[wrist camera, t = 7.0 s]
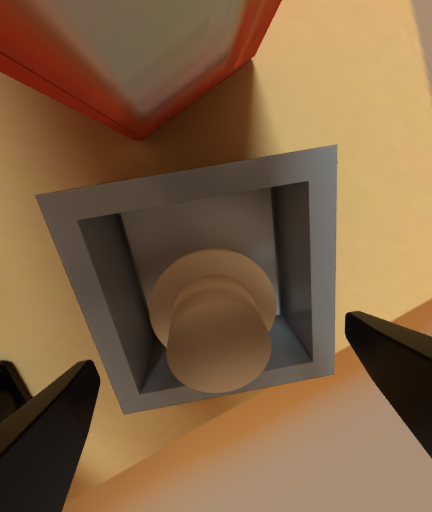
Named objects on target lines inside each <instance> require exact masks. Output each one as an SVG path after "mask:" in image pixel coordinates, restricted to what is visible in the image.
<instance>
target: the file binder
mask: <svg viewBox="0 0 432 512" xmlns="http://www.w3.org/2000/svg"><path fill="white" fill-rule="evenodd" d="M281 1H282V0H0V72H2V73H4V74H6V75H8V76H10V77H12V78H14V79H16V80H18V81H20V82H21V83H23V84H25V85H27V86H29V87H31V88H33V89H35V90H37V91H39V92H41V93H43V94H45V95H47V96H49V97H51V98H53V99H55V100H57V101H59V102H61V103H63V104H65V105H67V106H69V107H71V108H73V109H75V110H77V111H79V112H81V113H83V114H85V115H86V116H88V117H90V118H92V119H94V120H96V121H98V122H100V123H102V124H104V125H106V126H108V127H110V128H112V129H114V130H116V131H118V132H120V133H122V134H124V135H126V136H128V137H130V138H132V139H134V140H136V141H139V140H143V139H144V138H145V137H147V136H148V135H149V134H151V133H152V132H153V131H155V130H156V129H158V128H159V127H160V126H162V125H163V124H164V123H166V122H167V121H168V120H170V119H171V118H172V117H174V116H175V115H177V114H178V113H179V112H181V111H182V110H183V109H185V108H186V107H187V106H189V105H190V104H191V103H193V102H194V101H195V100H197V99H198V98H200V97H201V96H202V95H204V94H205V93H206V92H208V91H209V90H210V89H212V88H213V87H214V86H216V85H217V84H219V83H220V82H221V81H223V80H224V79H225V78H227V77H228V76H229V75H231V74H232V73H233V72H235V71H236V70H238V69H239V68H240V67H242V66H243V65H244V64H246V63H247V61H248V60H249V59H251V58H252V57H254V56H255V54H256V52H257V50H258V48H259V46H260V44H261V42H262V40H263V38H264V36H265V34H266V32H267V29H268V27H269V25H270V23H271V21H272V19H273V17H274V15H275V13H276V11H277V9H278V7H279V5H280V3H281Z"/></svg>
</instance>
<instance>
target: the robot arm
mask: <svg viewBox="0 0 432 512" xmlns="http://www.w3.org/2000/svg"><path fill="white" fill-rule="evenodd" d="M345 335H346V338H347V340H348V341H349V343H350V345H351V346H352V348H353V350H354V351H355V353H356V354H357V356H358V357H359V359H360V361H361V363H362V364H363V366H364V367H365V369H366V371H367V372H368V374H369V375H370V377H371V378H372V380H373V381H374V383H375V384H376V385H377V387H378V388H379V389H380V391H381V392H382V393H383V395H384V396H385V397H386V399H387V400H388V401H389V402H390V404H391V405H392V407H393V408H394V409H395V411H396V412H397V413H398V415H399V416H400V417H401V419H402V420H403V421H404V423H405V424H406V425H407V426H408V428H409V429H410V430H411V432H412V433H413V434H414V436H415V437H416V438H417V440H418V441H419V442H420V444H421V445H422V446H423V448H424V449H425V450H426V452H427V453H428V454H429V455H430V457H431V458H432V337H430V336H428V335H425V334H423V333H420V332H417V331H414V330H411V329H408V328H406V327H403V326H400V325H397V324H394V323H392V322H389V321H386V320H383V319H380V318H377V317H375V316H372V315H369V314H366V313H363V312H361V311H354V312H348V313H347V314H346V316H345ZM99 387H100V377H99V374H98V372H97V369H96V367H95V365H94V362H93V361H92V360H85V361H80V362H78V363H76V364H75V365H74V366H72V367H71V368H70V369H69V370H67V371H66V372H65V373H64V374H62V375H61V376H60V377H59V378H57V379H56V380H55V381H54V382H52V383H51V384H50V385H48V386H47V387H46V388H45V389H43V390H42V391H41V392H40V393H38V394H37V395H36V396H35V397H33V398H32V399H30V397H29V395H28V394H27V392H26V390H25V388H24V387H23V385H22V383H21V381H20V380H19V378H18V376H17V374H16V373H15V371H14V369H13V367H12V366H11V364H10V363H9V362H7V361H4V360H1V361H0V512H62V509H63V506H64V503H65V500H66V497H67V494H68V491H69V489H70V486H71V483H72V480H73V477H74V474H75V471H76V468H77V465H78V462H79V459H80V456H81V453H82V450H83V447H84V444H85V441H86V438H87V435H88V432H89V428H90V424H91V420H92V416H93V412H94V408H95V404H96V399H97V395H98V391H99Z"/></svg>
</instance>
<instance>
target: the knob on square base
mask: <svg viewBox="0 0 432 512" xmlns="http://www.w3.org/2000/svg"><path fill="white" fill-rule="evenodd" d="M121 217H122V220H123V223H124V227H125V230H126V234H127V237H128V240H129V244H130V247H131V251H132V254H133V257H134V261H135V264H136V268H137V271H138V274H139V278H140V281H141V285H142V288H143V292H144V295H145V298H146V302H147V305H148V309H149V314H150V321H151V325H152V327H153V330H154V332H155V334H156V336H157V337H158V339H159V340H160V341H161V343H162V344H163V345H164V346H165V347H166V348H167V349H166V358H167V362H168V365H169V368H170V370H171V371H172V373H173V374H174V376H175V377H176V378H177V379H178V380H179V381H180V382H182V383H183V384H184V385H186V386H188V387H190V388H192V389H195V390H198V391H201V392H207V393H223V392H229V391H233V390H236V389H239V388H241V387H243V386H245V385H247V384H249V383H250V382H252V381H253V380H254V379H256V378H257V377H258V376H259V375H260V374H261V373H262V371H263V370H264V369H265V367H266V365H267V363H268V361H269V359H270V355H271V349H272V344H271V338H270V335H269V331H270V330H271V328H272V325H273V323H274V320H275V316H276V315H280V306H279V293H278V280H277V267H276V255H275V242H274V229H273V216H272V203H271V190H270V187H269V188H263V189H257V190H251V191H246V192H240V193H234V194H228V195H222V196H216V197H210V198H205V199H199V200H193V201H187V202H181V203H175V204H169V205H164V206H158V207H152V208H146V209H140V210H134V211H128V212H123V213H121Z"/></svg>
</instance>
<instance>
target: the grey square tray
mask: <svg viewBox="0 0 432 512" xmlns="http://www.w3.org/2000/svg"><path fill="white" fill-rule="evenodd" d="M269 187H270V190H271V203H272V216H273V229H274V242H275V255H276V267H277V280H278V293H279V306H280V315H276V316H275V320H274V323H273V325H272V328H271V330H270V331H269V335H270V338H271V344H272V349H271V355H270V359H269V361H268V363H267V365H266V367H265V369H264V370H263V371H262V373H261V374H260V375H259V376H258V377H257V378H256V379H254V380H253V381H252V382H250V383H249V384H247V385H245V386H243V387H241V388H239V389H236V390H233V391H229V392H223V393H207V392H201V391H198V390H195V389H192V388H190V387H188V386H186V385H184V384H183V383H182V382H180V381H179V380H178V379H177V378H176V377H175V376H174V374H173V373H172V371H171V370H170V368H169V365H168V362H167V358H166V349H167V348H166V347H165V346H164V345H163V344H162V343H161V341H160V340H159V339H158V337H157V336H156V334H155V332H154V330H153V327H152V325H151V321H150V314H149V309H148V305H147V302H146V298H145V295H144V292H143V288H142V285H141V281H140V278H139V274H138V271H137V268H136V264H135V261H134V257H133V254H132V251H131V247H130V244H129V240H128V237H127V234H126V230H125V227H124V223H123V220H122V217H121V213H123V212H128V211H134V210H140V209H146V208H152V207H158V206H164V205H169V204H175V203H181V202H187V201H193V200H199V199H205V198H210V197H216V196H222V195H228V194H234V193H240V192H246V191H251V190H257V189H263V188H269ZM35 197H36V199H37V201H38V204H39V206H40V209H41V211H42V214H43V216H44V219H45V221H46V224H47V226H48V229H49V231H50V234H51V236H52V239H53V241H54V243H55V246H56V248H57V251H58V253H59V256H60V258H61V261H62V263H63V266H64V268H65V271H66V273H67V276H68V278H69V281H70V283H71V286H72V288H73V290H74V293H75V295H76V298H77V300H78V303H79V305H80V308H81V310H82V313H83V315H84V318H85V320H86V323H87V325H88V328H89V330H90V332H91V335H92V337H93V340H94V342H95V345H96V347H97V350H98V352H99V355H100V357H101V360H102V362H103V365H104V367H105V370H106V372H107V375H108V377H109V379H110V382H111V384H112V387H113V389H114V392H115V394H116V397H117V399H118V402H119V404H120V407H121V409H122V412H123V414H124V415H125V414H130V413H135V412H140V411H146V410H151V409H156V408H161V407H167V406H172V405H177V404H182V403H188V402H193V401H198V400H203V399H209V398H214V397H219V396H224V395H229V394H235V393H240V392H245V391H250V390H256V389H261V388H266V387H271V386H277V385H282V384H287V383H292V382H298V381H302V380H308V379H313V378H319V377H324V376H329V375H334V353H335V276H336V199H337V145H331V146H325V147H319V148H313V149H307V150H301V151H295V152H290V153H284V154H278V155H272V156H266V157H260V158H254V159H248V160H242V161H236V162H230V163H224V164H218V165H212V166H206V167H200V168H194V169H188V170H182V171H176V172H170V173H164V174H158V175H152V176H146V177H140V178H134V179H128V180H122V181H116V182H110V183H104V184H99V185H93V186H87V187H81V188H75V189H69V190H63V191H57V192H51V193H45V194H39V195H35Z"/></svg>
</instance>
